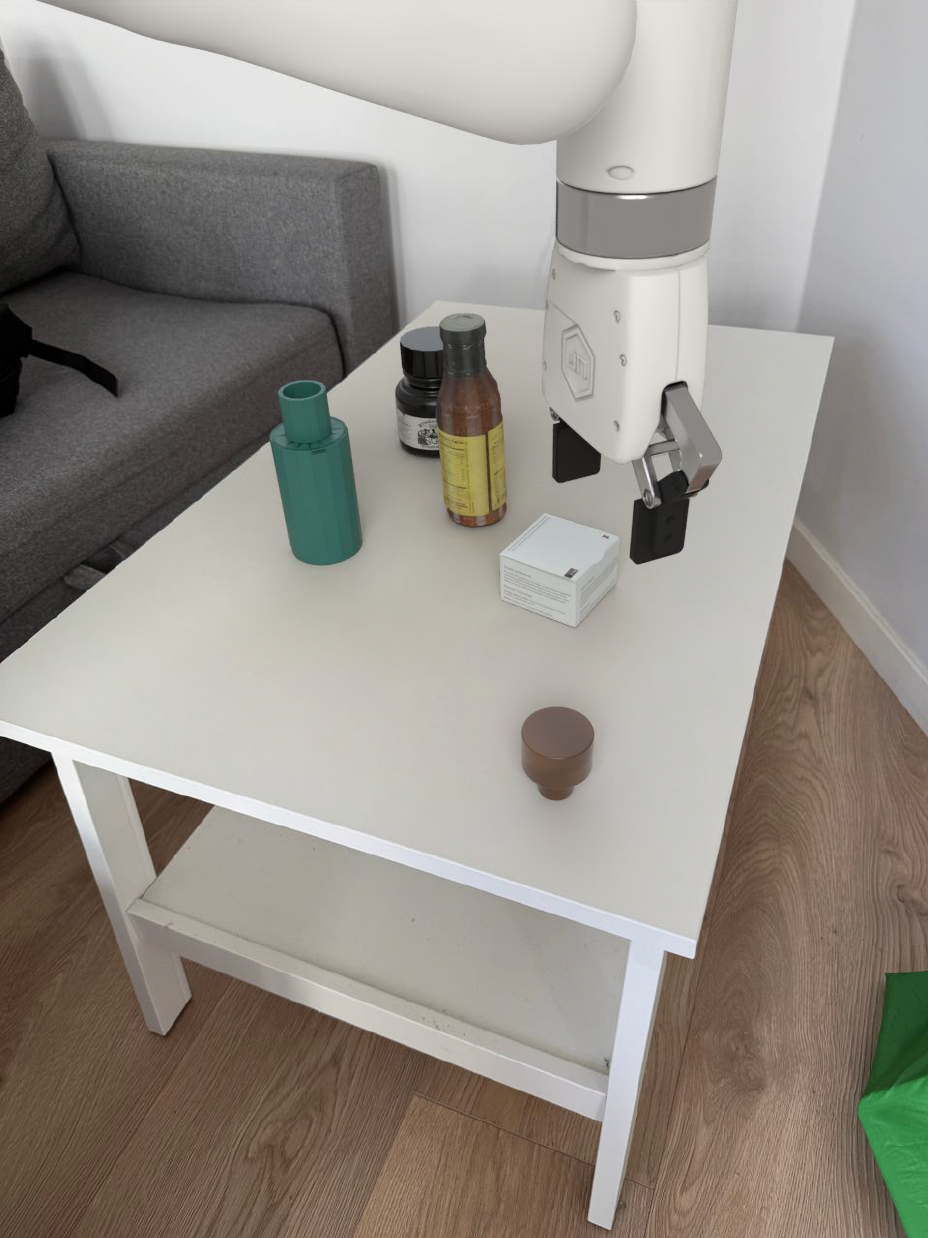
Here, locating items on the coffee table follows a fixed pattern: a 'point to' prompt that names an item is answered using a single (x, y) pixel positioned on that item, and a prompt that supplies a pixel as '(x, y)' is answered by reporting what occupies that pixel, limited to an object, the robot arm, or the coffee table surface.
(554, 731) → the stopper
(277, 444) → the bottle
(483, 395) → the sauce bottle
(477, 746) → the coffee table surface
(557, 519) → the small box
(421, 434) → the ink bottle
